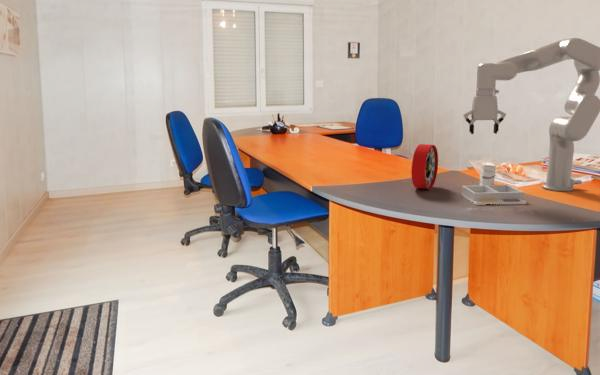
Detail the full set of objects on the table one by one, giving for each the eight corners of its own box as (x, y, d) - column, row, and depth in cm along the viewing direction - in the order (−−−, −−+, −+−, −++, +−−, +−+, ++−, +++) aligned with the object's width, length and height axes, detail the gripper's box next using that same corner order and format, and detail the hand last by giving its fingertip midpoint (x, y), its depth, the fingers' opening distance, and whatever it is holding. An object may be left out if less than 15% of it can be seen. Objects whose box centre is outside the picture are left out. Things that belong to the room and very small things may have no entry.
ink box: (494, 192, 215) (495, 165, 212) (481, 192, 216) (483, 165, 213) (490, 188, 223) (492, 162, 220) (478, 187, 224) (480, 161, 221)
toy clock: (423, 193, 215) (425, 147, 210) (410, 192, 218) (412, 147, 213) (437, 184, 231) (439, 142, 227) (424, 183, 234) (426, 141, 230)
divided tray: (507, 193, 212) (508, 184, 211) (526, 203, 195) (527, 194, 194) (461, 194, 211) (461, 185, 210) (476, 205, 195) (476, 195, 194)
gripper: (504, 92, 213) (502, 132, 216) (462, 93, 215) (461, 132, 219) (509, 92, 205) (506, 134, 209) (466, 94, 208) (464, 134, 211)
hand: (483, 133), depth 214 cm, fingers open, 9 cm apart
